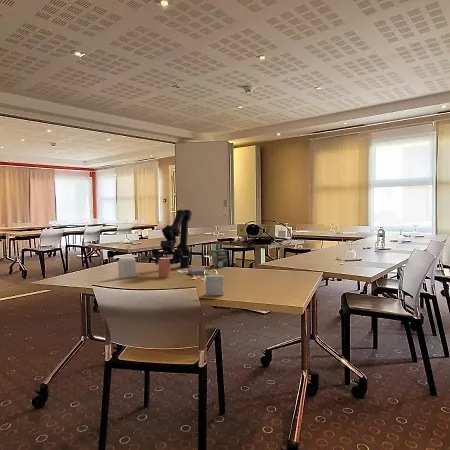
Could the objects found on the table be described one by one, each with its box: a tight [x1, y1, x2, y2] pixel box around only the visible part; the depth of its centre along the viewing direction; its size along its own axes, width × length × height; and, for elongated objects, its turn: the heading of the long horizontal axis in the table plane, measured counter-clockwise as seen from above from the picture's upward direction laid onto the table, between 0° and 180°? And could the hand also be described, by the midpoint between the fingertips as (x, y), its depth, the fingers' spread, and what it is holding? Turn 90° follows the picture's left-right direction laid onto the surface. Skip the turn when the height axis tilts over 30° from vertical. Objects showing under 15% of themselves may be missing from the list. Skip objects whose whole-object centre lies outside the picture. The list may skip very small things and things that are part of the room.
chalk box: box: [208, 244, 229, 269], centre depth 258 cm, size 9×9×15 cm
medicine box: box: [205, 274, 225, 297], centre depth 176 cm, size 8×4×9 cm, turn 86°
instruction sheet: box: [176, 269, 188, 274], centre depth 244 cm, size 10×14×1 cm
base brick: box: [187, 267, 206, 277], centre depth 233 cm, size 10×10×2 cm
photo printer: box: [117, 256, 137, 280], centre depth 226 cm, size 10×4×12 cm, turn 123°
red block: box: [157, 258, 171, 278], centre depth 226 cm, size 4×6×10 cm
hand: (163, 264), depth 225 cm, fingers open, 9 cm apart
